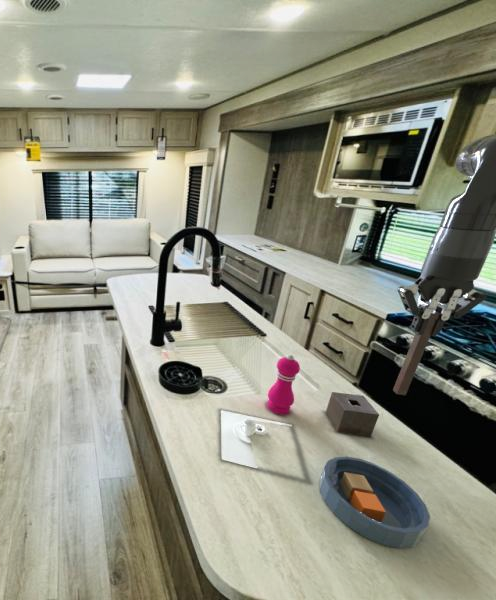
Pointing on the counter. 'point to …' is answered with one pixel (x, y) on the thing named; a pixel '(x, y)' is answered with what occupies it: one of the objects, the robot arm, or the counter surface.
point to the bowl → (392, 495)
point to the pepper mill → (283, 386)
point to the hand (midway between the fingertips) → (423, 333)
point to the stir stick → (414, 356)
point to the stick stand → (351, 414)
